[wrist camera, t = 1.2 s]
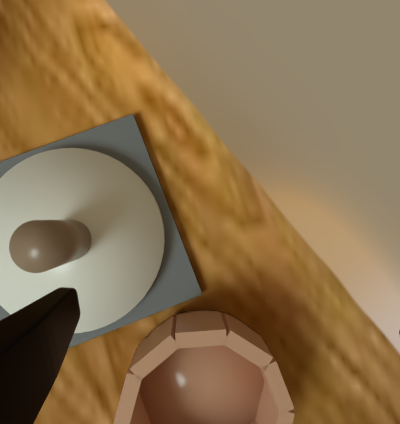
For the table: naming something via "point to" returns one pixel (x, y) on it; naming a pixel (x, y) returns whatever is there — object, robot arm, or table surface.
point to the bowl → (204, 375)
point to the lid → (78, 234)
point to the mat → (173, 249)
